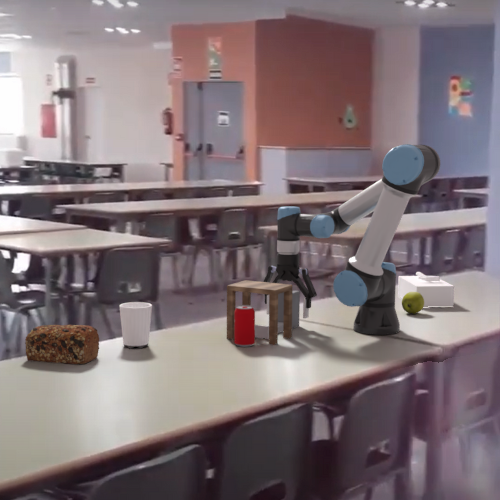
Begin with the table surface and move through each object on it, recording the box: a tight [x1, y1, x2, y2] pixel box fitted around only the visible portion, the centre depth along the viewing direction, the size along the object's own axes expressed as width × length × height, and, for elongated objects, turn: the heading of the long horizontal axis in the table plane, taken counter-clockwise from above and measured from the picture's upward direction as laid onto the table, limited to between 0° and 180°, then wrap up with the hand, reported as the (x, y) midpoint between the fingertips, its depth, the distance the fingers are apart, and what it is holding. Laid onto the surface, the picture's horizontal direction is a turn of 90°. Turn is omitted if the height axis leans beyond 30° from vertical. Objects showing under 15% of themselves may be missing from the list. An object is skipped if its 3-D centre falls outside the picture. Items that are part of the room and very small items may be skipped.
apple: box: [401, 292, 424, 314], centre depth 334 cm, size 8×9×8 cm
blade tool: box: [255, 289, 301, 340], centre depth 302 cm, size 6×23×12 cm, turn 152°
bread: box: [24, 324, 100, 365], centre depth 263 cm, size 19×11×10 cm, turn 73°
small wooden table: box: [226, 279, 293, 346], centre depth 291 cm, size 17×12×17 cm
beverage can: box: [233, 304, 256, 348], centre depth 282 cm, size 6×6×12 cm
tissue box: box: [397, 271, 455, 307], centre depth 357 cm, size 14×25×11 cm, turn 7°
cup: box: [118, 301, 153, 349], centre depth 279 cm, size 10×10×13 cm
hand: (287, 315), depth 309 cm, fingers open, 13 cm apart
